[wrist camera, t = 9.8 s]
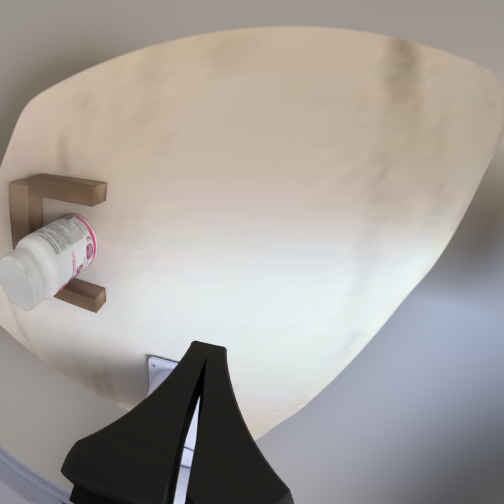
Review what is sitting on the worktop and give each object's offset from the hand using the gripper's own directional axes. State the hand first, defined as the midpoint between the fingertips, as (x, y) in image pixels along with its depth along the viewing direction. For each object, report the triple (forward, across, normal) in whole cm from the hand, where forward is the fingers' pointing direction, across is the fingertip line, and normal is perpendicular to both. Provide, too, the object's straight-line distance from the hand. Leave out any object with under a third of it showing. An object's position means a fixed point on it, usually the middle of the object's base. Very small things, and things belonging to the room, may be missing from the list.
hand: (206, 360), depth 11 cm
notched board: (+10, +16, +2) cm, 19 cm away
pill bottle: (+11, +13, +1) cm, 17 cm away
